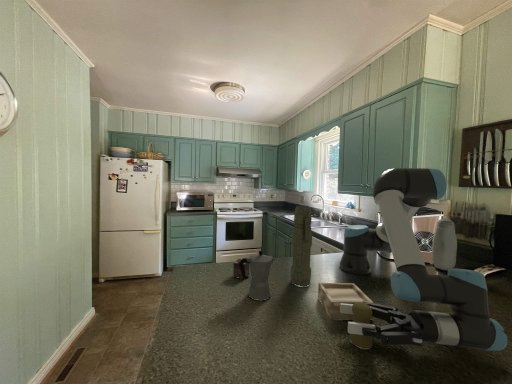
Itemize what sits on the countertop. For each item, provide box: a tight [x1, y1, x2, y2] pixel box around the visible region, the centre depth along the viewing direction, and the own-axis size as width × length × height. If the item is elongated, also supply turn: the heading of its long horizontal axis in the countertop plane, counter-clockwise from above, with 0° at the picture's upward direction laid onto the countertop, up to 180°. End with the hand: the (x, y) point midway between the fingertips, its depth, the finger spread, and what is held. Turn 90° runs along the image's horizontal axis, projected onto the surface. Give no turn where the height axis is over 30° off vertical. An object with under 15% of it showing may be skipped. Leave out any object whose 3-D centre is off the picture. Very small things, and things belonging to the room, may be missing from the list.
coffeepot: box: [239, 250, 277, 300], centre depth 87 cm, size 15×9×18 cm, turn 110°
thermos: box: [290, 204, 313, 286], centre depth 99 cm, size 9×12×35 cm
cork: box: [348, 302, 373, 348], centre depth 62 cm, size 6×6×11 cm
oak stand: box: [317, 282, 374, 320], centre depth 79 cm, size 14×14×6 cm
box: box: [232, 258, 250, 278], centre depth 105 cm, size 6×6×7 cm
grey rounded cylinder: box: [431, 218, 458, 272], centre depth 120 cm, size 10×10×28 cm
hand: (344, 317), depth 63 cm, fingers open, 9 cm apart
